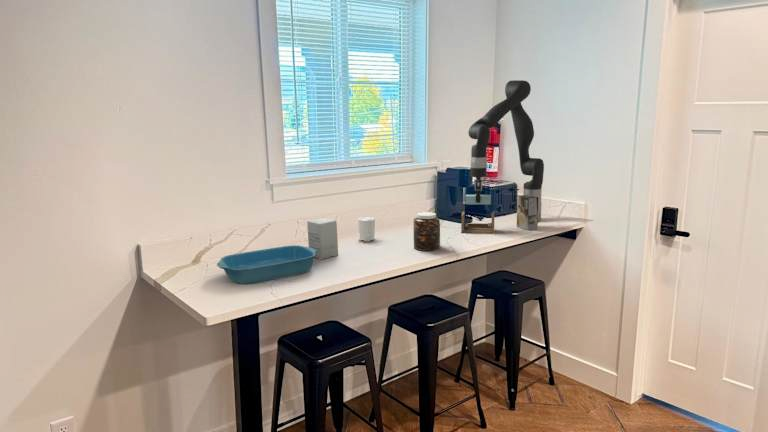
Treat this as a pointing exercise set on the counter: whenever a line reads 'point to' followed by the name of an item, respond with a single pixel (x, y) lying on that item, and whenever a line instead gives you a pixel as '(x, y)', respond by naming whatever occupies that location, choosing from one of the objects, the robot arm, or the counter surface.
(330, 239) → the supplement box
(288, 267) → the casserole dish
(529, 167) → the robot arm
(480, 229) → the shelf rack
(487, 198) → the light teal block
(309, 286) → the counter surface
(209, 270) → the counter surface
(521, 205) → the coffee box
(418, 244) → the jar
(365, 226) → the white cup
